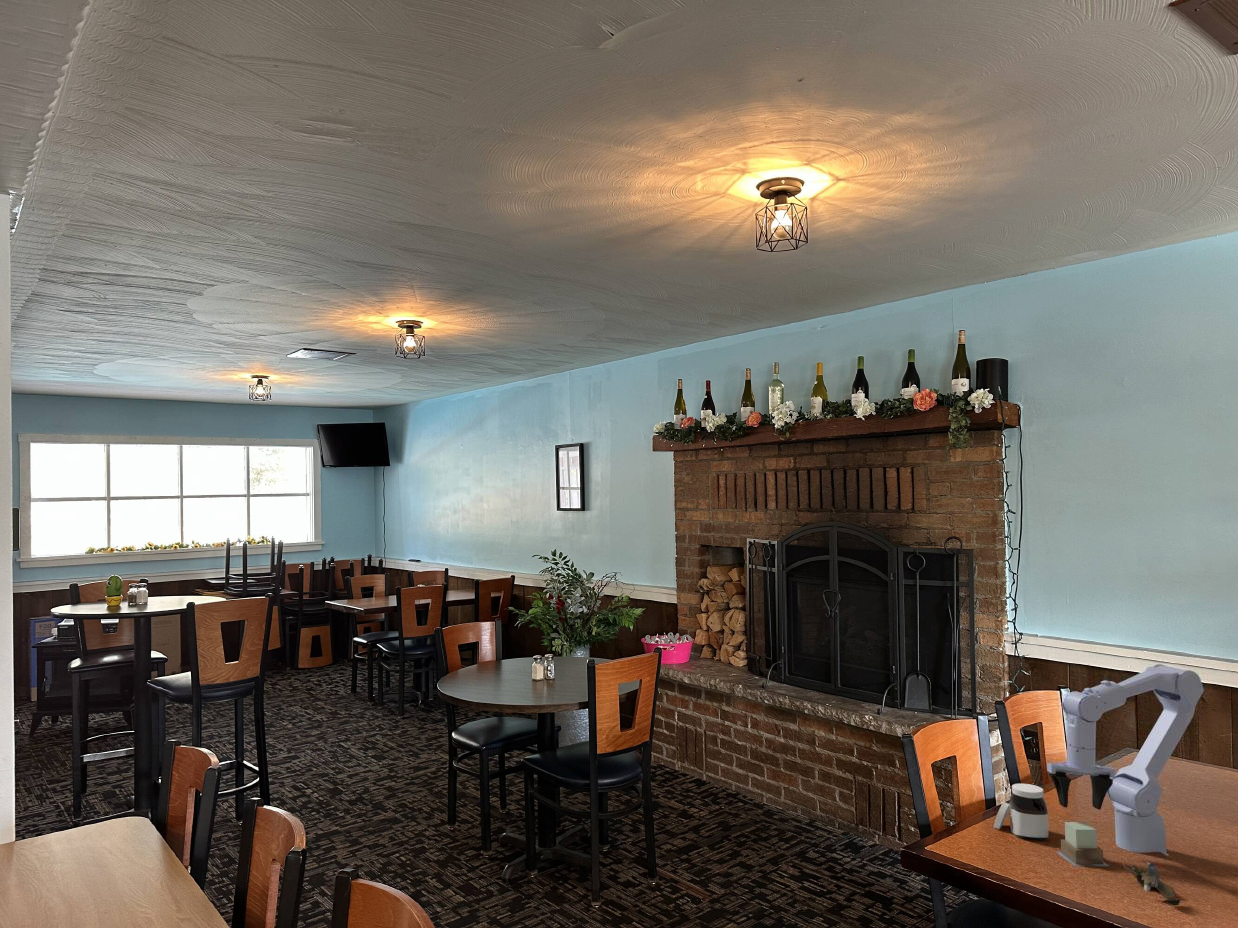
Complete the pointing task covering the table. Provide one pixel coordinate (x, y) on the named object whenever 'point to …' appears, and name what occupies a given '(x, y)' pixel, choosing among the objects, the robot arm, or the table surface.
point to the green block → (1080, 835)
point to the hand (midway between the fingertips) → (1080, 806)
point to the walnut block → (1082, 854)
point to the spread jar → (1025, 813)
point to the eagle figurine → (1153, 882)
